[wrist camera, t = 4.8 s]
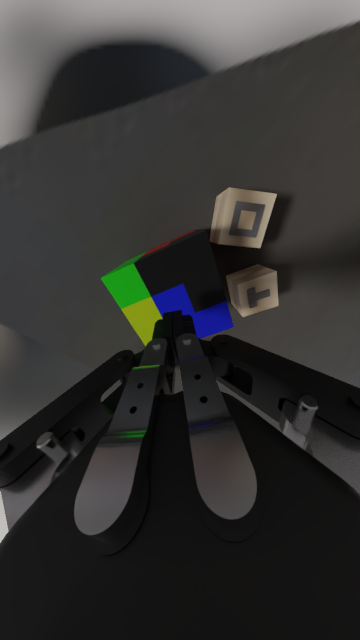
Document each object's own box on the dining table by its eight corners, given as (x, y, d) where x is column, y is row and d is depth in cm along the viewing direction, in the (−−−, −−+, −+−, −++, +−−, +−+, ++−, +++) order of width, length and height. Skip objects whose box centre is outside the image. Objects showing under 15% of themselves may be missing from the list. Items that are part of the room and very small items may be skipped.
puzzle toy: (212, 294, 26) (233, 326, 17) (158, 316, 28) (151, 355, 19) (192, 230, 21) (206, 229, 13) (127, 260, 23) (100, 278, 14)
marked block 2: (257, 263, 24) (277, 271, 20) (260, 293, 26) (279, 306, 22) (225, 275, 25) (237, 285, 20) (231, 303, 27) (243, 317, 22)
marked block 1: (254, 201, 20) (278, 193, 16) (243, 244, 23) (261, 248, 18) (216, 197, 20) (229, 186, 15) (209, 241, 22) (218, 244, 18)
